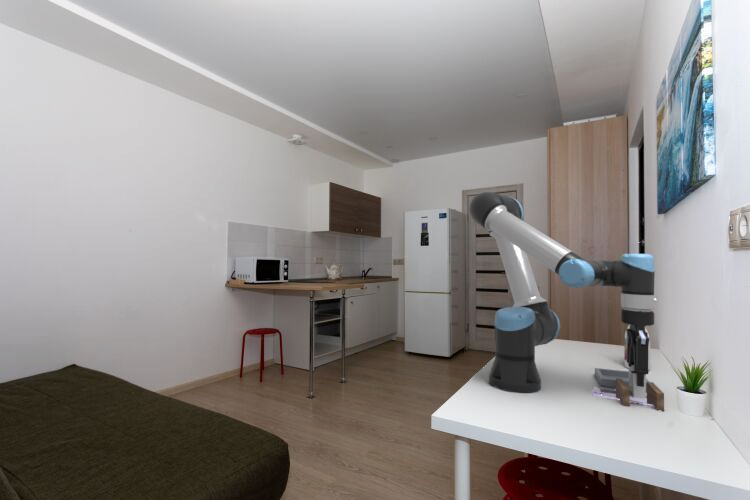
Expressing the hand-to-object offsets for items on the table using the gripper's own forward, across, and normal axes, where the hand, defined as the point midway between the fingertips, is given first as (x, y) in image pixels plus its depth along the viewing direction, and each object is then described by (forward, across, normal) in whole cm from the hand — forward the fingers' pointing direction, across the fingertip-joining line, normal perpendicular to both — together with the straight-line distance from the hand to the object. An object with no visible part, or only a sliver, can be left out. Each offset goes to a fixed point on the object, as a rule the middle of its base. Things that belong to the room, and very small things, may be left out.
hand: (636, 394), depth 104 cm
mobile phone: (+3, +3, +3) cm, 5 cm away
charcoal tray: (+2, +17, +1) cm, 17 cm away
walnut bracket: (+2, 0, 0) cm, 2 cm away
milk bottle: (+2, +40, -8) cm, 41 cm away
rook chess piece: (+1, 0, 0) cm, 1 cm away
